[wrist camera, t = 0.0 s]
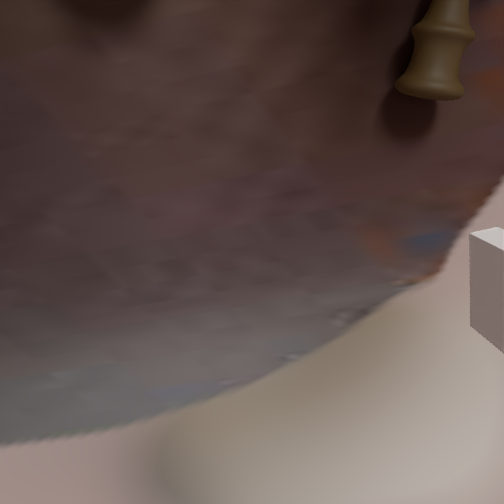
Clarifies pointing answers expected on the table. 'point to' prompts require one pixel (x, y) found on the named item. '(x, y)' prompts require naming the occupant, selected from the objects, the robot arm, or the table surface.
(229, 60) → the table surface
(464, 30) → the kendama
